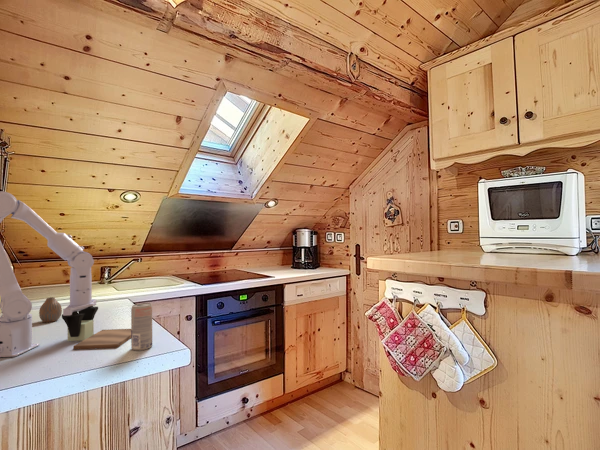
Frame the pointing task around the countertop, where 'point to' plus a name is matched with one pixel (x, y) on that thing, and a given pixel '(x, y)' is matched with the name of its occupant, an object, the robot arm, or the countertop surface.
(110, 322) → the countertop surface
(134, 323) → the energy drink
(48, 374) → the countertop surface
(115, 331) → the walnut board
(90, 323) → the sage block
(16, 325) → the robot arm
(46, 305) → the vase
